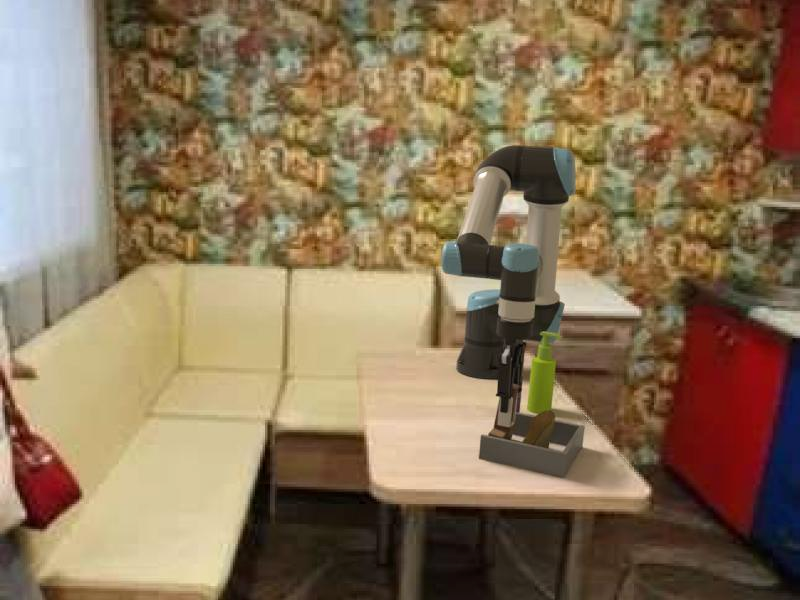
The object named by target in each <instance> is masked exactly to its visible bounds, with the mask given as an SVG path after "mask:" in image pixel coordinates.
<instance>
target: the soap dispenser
mask: <svg viewBox="0 0 800 600" xmlns="http://www.w3.org/2000/svg"><path fill="white" fill-rule="evenodd" d="M540 335H543V339H542V342H541V343H538V347H537V356H533V357H531V366H530V373H529V374H530V375H529V385H528V386H529V387H528V398H527V408H526V409H527V411H529V412H530V413H532V414H536V415H538V414H540V413H541V412H543V411H550V410H551V411H552V407H553V406H552V405H553V396H554V387H555V376H556V366H557V360H556V359H555V358H553V357H552V353H553V345H551V343H549V340H550V337H554V338H557V339H556V340H561V339H563V337H564V336H563V335H561V334H559V333H558V334H556V333H552V332H544V331H543V332H541V333H540Z"/></svg>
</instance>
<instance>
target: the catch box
mask: <svg viewBox="0 0 800 600" xmlns="http://www.w3.org/2000/svg"><path fill="white" fill-rule="evenodd" d="M535 416H536V415H532V414H528V413H522V412H520V413H518V412H516V418H515V425H514V430H513V435H516V436H519V437H524V438H525V437H526V436H527V432H528V429H529V427H530V421H531V419H532V418H534V417H535ZM585 427H586V425H582V424H578V423H574V422H573V423H572V422H567V421H562V420H557V419H555V423H554V427H553V430H552V434H551V436H550V443H553V444H559V445H563V446H565V448H564V449H563V451H561V450H558V449H557V450H556V449H552V448H543V447H539V446H534V445H529V444H525V443H522V442H519V441H514V440H512V439H511V440H506V439H502V438H497V437H492V436H488V434H481V435H480V440H479V441H480V442H479V453H478V458H479V459H481V460H485V461H488V462H489V461H490V462H494V463H498V464H502V465H506V466H511V467H515V468H520V469H524V470H529V471H533V472H537V473H542V474H545V475H546V474H547V475H551V476H555V477H558V478H559V477H560V478H565V477H566V475H567V473H568V471H569V470H570V468H571V467H572V465H573V464H574V461H575V460H576V459H577V457H578V455H579V453H580V452H581V450H582V449H583V444H584V437H585Z"/></svg>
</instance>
